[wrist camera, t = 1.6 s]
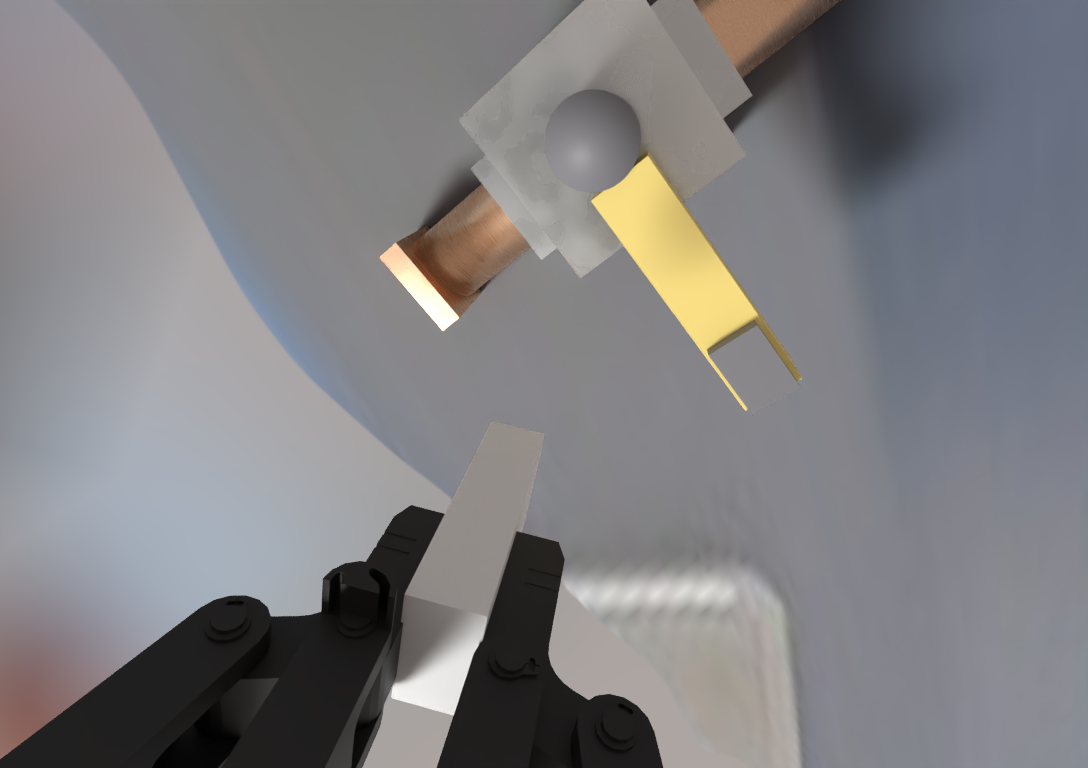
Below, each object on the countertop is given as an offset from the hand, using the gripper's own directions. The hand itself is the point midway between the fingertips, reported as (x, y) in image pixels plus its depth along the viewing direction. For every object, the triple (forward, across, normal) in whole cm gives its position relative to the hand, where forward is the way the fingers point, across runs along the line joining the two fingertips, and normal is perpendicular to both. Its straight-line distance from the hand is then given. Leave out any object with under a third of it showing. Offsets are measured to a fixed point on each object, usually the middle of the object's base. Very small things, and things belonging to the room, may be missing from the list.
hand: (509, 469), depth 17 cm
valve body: (+20, 0, +8) cm, 21 cm away
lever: (+11, +4, +5) cm, 13 cm away
